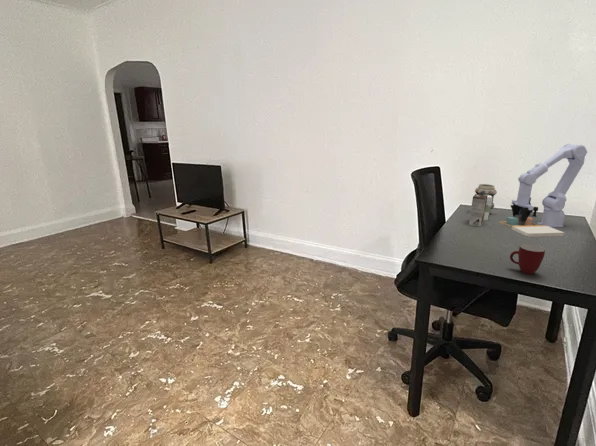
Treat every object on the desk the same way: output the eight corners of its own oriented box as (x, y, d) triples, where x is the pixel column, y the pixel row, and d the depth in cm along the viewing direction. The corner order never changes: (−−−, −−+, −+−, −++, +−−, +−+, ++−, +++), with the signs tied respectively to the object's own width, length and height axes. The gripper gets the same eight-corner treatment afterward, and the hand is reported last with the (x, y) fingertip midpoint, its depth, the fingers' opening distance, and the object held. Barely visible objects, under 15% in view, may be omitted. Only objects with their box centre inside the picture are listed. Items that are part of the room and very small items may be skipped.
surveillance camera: (542, 198, 200) (522, 197, 204) (538, 218, 203) (518, 216, 207) (540, 196, 204) (521, 195, 209) (536, 216, 208) (517, 214, 212)
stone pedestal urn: (497, 216, 208) (502, 186, 203) (477, 216, 208) (481, 187, 203) (486, 211, 220) (490, 183, 214) (467, 211, 220) (471, 183, 214)
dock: (545, 229, 183) (546, 225, 183) (563, 236, 172) (564, 232, 171) (511, 229, 182) (512, 226, 181) (527, 237, 171) (528, 233, 170)
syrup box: (484, 218, 203) (488, 194, 199) (488, 221, 198) (492, 196, 194) (474, 218, 204) (478, 194, 200) (478, 220, 198) (482, 196, 194)
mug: (507, 272, 132) (511, 247, 129) (508, 264, 138) (512, 241, 136) (540, 278, 127) (545, 253, 124) (539, 270, 133) (544, 246, 130)
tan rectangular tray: (527, 223, 195) (529, 212, 193) (538, 228, 187) (541, 217, 185) (498, 224, 194) (500, 213, 192) (509, 229, 185) (511, 217, 184)
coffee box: (471, 221, 198) (475, 193, 193) (483, 222, 195) (488, 195, 190) (468, 224, 191) (472, 196, 186) (481, 226, 187) (485, 198, 183)
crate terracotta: (526, 223, 192) (527, 216, 191) (531, 225, 188) (533, 218, 187) (519, 223, 192) (521, 216, 191) (524, 225, 188) (526, 218, 187)
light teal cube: (512, 223, 192) (513, 216, 191) (517, 225, 188) (518, 218, 187) (505, 223, 191) (507, 216, 190) (510, 225, 188) (511, 218, 186)
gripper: (508, 192, 192) (504, 216, 196) (526, 198, 178) (521, 223, 182) (520, 192, 193) (515, 215, 196) (539, 198, 179) (534, 223, 183)
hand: (519, 219), depth 189 cm, fingers open, 6 cm apart
